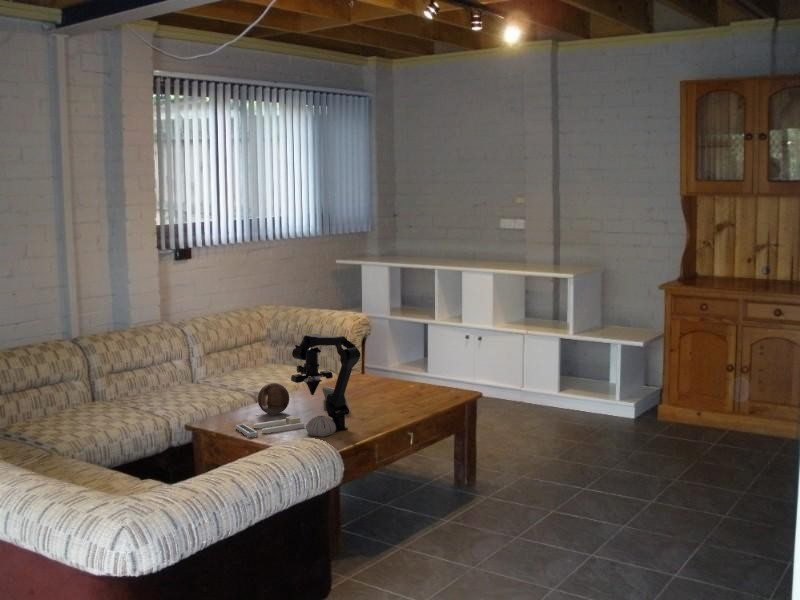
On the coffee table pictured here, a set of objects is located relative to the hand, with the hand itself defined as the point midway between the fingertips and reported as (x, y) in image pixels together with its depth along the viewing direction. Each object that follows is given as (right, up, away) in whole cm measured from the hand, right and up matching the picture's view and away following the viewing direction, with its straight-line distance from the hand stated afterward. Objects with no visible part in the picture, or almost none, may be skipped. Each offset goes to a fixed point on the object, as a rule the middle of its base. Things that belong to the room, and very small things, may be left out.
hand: (312, 394), depth 414 cm
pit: (-28, -15, -15) cm, 35 cm away
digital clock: (+9, -10, +26) cm, 29 cm away
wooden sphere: (-20, -11, +17) cm, 29 cm away
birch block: (-8, -14, -3) cm, 17 cm away
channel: (-14, -14, -7) cm, 21 cm away
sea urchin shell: (+5, -16, -17) cm, 24 cm away
